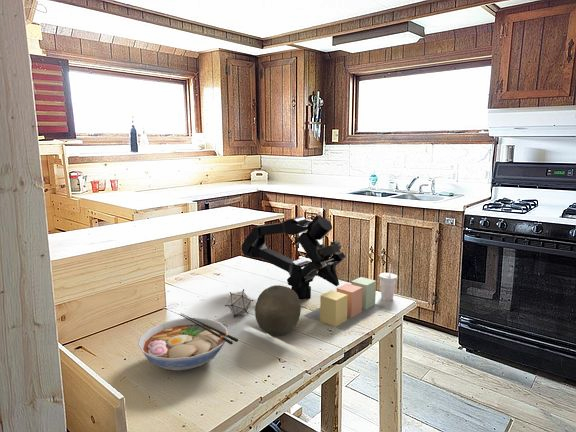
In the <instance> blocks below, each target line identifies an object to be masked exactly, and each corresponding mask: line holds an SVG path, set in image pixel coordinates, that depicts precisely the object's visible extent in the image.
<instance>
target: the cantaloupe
mask: <svg viewBox="0 0 576 432" xmlns="http://www.w3.org/2000/svg"><path fill="white" fill-rule="evenodd" d="M301 307H302V306H301V301H300V300H299V297H298V295H297V294H296V293H295V291H294V290H292V289H291V287H288V286H285V285H281V284H277V285H271V286H268V287H267V288H265V289H263V290H262V291H261V293H260V294H259V295H258V297H257V300H256V303H255V307H254V314H255V315H254V316H255V320H256V322H257V325H258V326H259V328H260V329H261V330H262V331H263V332H265V334H267V335H269V336H273V337H274V336H282V335H283V336H284V335H285V334H288V333H289V332H290V331H292V330H293V329H294V328H295V326H296V325H297V324H298V322H299V320H300V316H301V310H302V308H301Z"/></svg>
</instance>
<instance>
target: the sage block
mask: <svg viewBox="0 0 576 432" xmlns="http://www.w3.org/2000/svg"><path fill="white" fill-rule="evenodd" d="M350 284H352V285H355V286H359V287H362V309H368V308H369V307H371V306H373V305H375V304H376V295H377V293H376V291H377V289H376V288H377V280H375V279H370V278H367V277H363V276H360V277H358V278H356V279H353V280H351V283H350Z"/></svg>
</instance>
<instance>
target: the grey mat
mask: <svg viewBox="0 0 576 432" xmlns="http://www.w3.org/2000/svg"><path fill="white" fill-rule="evenodd" d="M383 308H385V305H381V304H377V303H375V305H373V306H371V307H369V308H368V309H362V312H361V313H359V314H357V315H355V316H354V317H352V318H351V317H348V316H347V321H345V322H343V323H341V324H340V325H338V326H336V327H335V326H333V325H330V324H327V323H324V322H322V321H320V307H319V308H316V309H314V310H312V311H309V312H308V313H306V314H304V315H303V316H304V317H306V318H308V319H312V320H313V321H317V322H320V323H323V324H325V325H328V326H331V327H333V328H336V329H339V330H342V331H347V330H348V329H350V328H352V327H353V326H355V325H357V324H359V323H360V322H362V321H363V320H366V319H367V318H368V317H370V316H372V315H374V314H375V313H377V312H379V311H380V310H383Z"/></svg>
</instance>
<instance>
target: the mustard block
mask: <svg viewBox="0 0 576 432" xmlns="http://www.w3.org/2000/svg"><path fill="white" fill-rule="evenodd" d="M319 297H320V299H319V301H320V304H319V305H320V307H319V308H320V321H322V322H324V323H323V324H325V323H327V324H330V325H333V326H335V327H334V328H336V326H338V325H340V324H341V323H343V322H345V321H347V297H348V295H347V294H343V293H340V292H337V290H333V289H331V290H329V291H327V292H325V293H323V294H320V296H319ZM322 322H321V323H322ZM327 324H326V325H327ZM330 325H329V326H330ZM333 326H332V327H333Z"/></svg>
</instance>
